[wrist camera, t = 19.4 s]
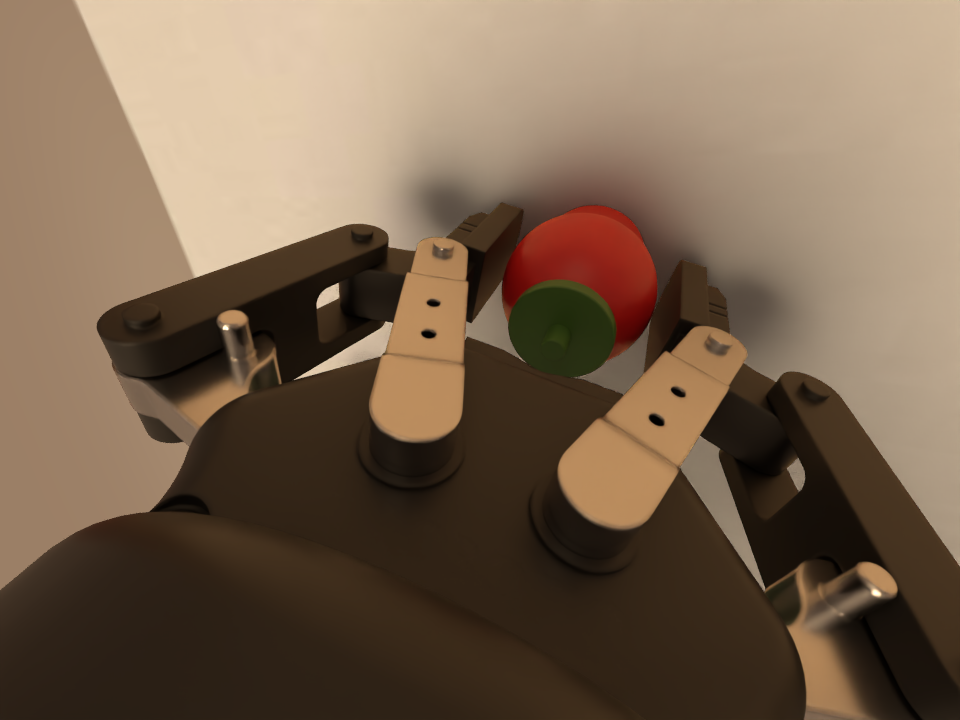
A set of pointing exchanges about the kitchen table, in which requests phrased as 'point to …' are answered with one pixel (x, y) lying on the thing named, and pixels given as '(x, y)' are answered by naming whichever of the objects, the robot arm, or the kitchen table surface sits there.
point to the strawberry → (578, 291)
